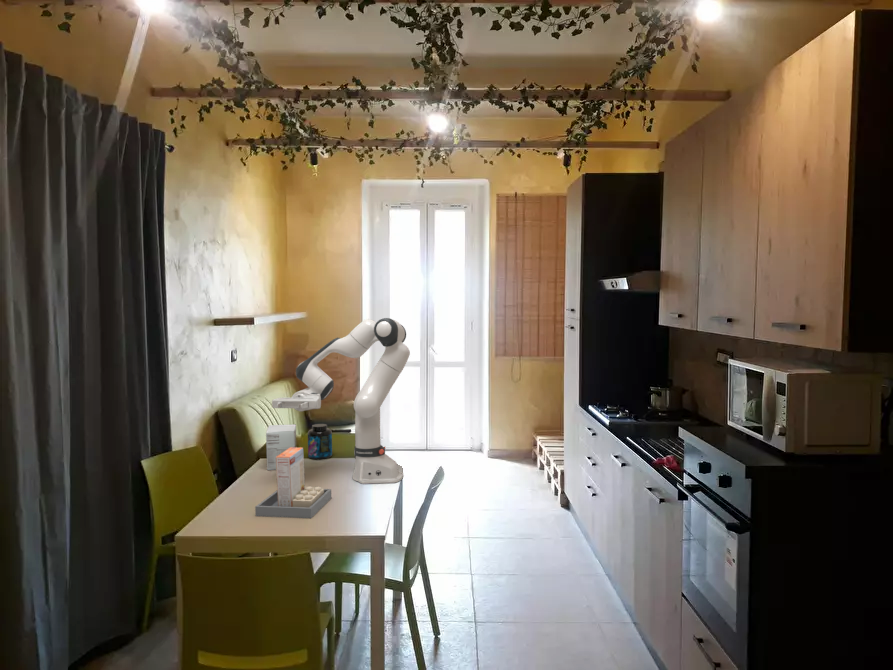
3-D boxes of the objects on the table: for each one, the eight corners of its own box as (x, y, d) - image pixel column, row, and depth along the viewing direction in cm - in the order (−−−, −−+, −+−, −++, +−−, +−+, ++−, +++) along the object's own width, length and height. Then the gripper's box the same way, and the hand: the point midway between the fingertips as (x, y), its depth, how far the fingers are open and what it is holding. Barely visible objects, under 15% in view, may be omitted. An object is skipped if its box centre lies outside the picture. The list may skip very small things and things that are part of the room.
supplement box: (295, 468, 279) (294, 430, 278) (266, 470, 276) (265, 432, 275) (297, 459, 296) (296, 423, 295) (269, 461, 293) (268, 424, 292)
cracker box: (290, 499, 232) (289, 446, 231) (305, 499, 232) (304, 446, 231) (276, 512, 219) (275, 456, 217) (292, 512, 218) (290, 456, 217)
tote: (331, 500, 234) (331, 489, 233) (311, 521, 212) (310, 508, 212) (280, 498, 237) (280, 487, 236) (255, 518, 215) (255, 506, 215)
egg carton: (324, 501, 230) (323, 485, 230) (311, 514, 216) (310, 497, 216) (307, 500, 231) (306, 485, 231) (292, 513, 217) (292, 497, 217)
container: (303, 457, 299) (302, 426, 298) (321, 452, 308) (320, 422, 307) (319, 461, 292) (318, 428, 291) (337, 456, 301) (336, 424, 300)
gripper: (279, 393, 262) (265, 398, 248) (323, 393, 259) (312, 399, 245) (279, 407, 262) (265, 413, 248) (324, 408, 259) (312, 414, 245)
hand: (289, 406), depth 247 cm, fingers open, 8 cm apart
